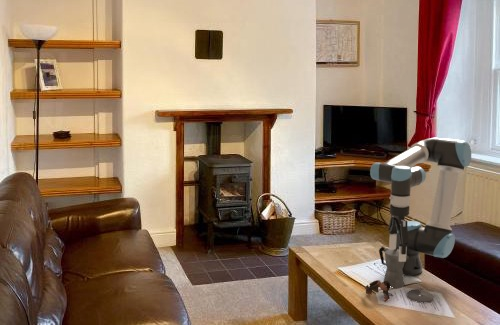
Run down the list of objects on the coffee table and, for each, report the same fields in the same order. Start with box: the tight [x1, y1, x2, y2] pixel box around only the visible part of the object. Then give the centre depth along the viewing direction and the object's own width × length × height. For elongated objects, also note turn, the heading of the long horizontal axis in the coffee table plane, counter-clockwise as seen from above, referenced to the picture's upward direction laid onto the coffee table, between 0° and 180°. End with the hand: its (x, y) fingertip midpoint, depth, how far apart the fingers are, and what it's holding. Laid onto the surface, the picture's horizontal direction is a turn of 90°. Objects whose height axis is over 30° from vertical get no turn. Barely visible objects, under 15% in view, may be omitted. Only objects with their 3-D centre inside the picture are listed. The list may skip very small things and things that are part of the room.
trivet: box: [406, 288, 435, 304], centre depth 230 cm, size 11×11×1 cm
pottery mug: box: [364, 279, 391, 303], centre depth 231 cm, size 12×10×8 cm
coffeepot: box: [378, 246, 408, 289], centre depth 242 cm, size 15×9×18 cm, turn 39°
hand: (397, 255), depth 222 cm, fingers open, 13 cm apart
